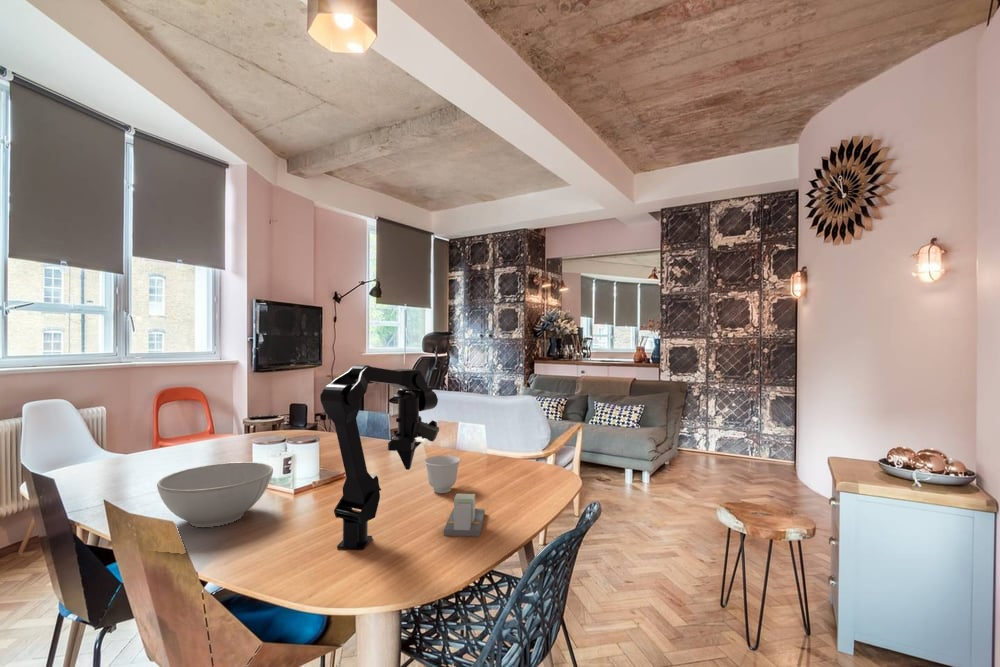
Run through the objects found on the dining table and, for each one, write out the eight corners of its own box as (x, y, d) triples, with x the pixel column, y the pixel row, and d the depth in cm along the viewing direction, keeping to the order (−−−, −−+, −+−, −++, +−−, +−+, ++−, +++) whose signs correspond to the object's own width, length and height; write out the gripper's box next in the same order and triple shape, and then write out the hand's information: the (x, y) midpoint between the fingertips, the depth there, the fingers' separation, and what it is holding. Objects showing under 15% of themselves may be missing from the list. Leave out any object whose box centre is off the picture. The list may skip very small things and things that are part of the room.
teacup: (468, 484, 154) (468, 454, 155) (452, 498, 140) (452, 466, 140) (436, 481, 157) (436, 452, 158) (417, 494, 143) (417, 463, 143)
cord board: (479, 536, 112) (479, 508, 112) (443, 535, 112) (444, 507, 113) (484, 514, 127) (484, 489, 127) (453, 513, 127) (453, 488, 128)
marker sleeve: (473, 522, 116) (473, 499, 116) (454, 522, 116) (454, 498, 116) (474, 516, 120) (475, 494, 120) (456, 516, 120) (456, 493, 120)
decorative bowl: (292, 513, 127) (293, 470, 127) (187, 549, 104) (189, 497, 104) (239, 496, 141) (240, 457, 141) (136, 525, 117) (137, 479, 118)
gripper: (429, 419, 116) (429, 480, 116) (442, 409, 135) (442, 461, 134) (387, 418, 117) (387, 479, 116) (406, 408, 135) (405, 460, 135)
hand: (407, 469), depth 125 cm, fingers closed
